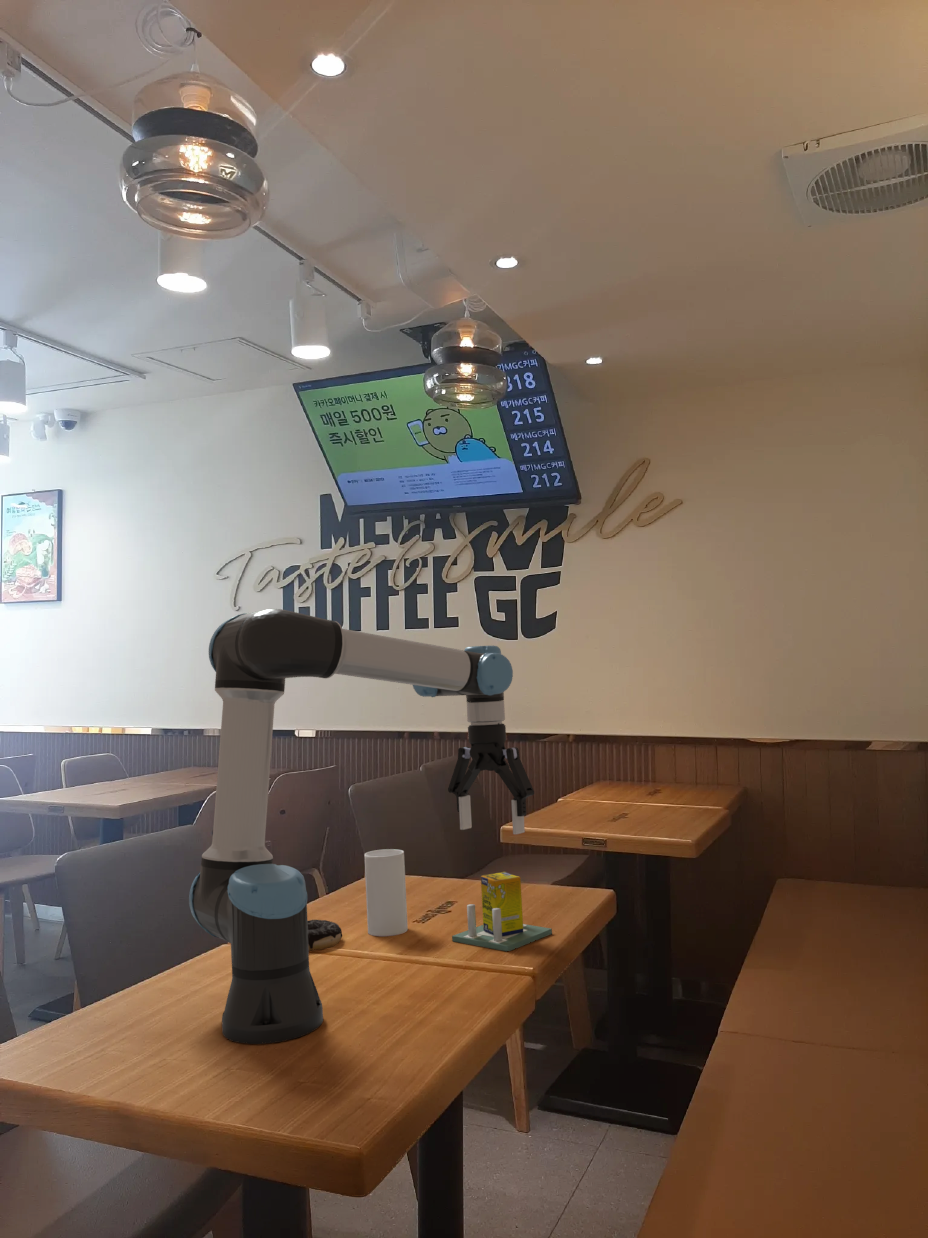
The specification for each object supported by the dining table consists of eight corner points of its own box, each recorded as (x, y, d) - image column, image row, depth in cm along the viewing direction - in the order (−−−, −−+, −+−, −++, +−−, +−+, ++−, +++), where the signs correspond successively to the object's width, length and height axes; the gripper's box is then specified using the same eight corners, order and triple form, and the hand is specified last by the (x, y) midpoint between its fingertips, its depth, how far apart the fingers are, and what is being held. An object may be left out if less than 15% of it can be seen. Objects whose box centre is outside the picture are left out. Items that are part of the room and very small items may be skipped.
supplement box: (482, 931, 190) (479, 875, 191) (508, 926, 193) (505, 871, 193) (497, 938, 185) (494, 880, 185) (524, 932, 187) (521, 876, 188)
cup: (410, 925, 202) (406, 848, 203) (404, 936, 194) (400, 856, 195) (372, 926, 203) (368, 849, 204) (364, 937, 195) (360, 857, 196)
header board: (508, 951, 179) (506, 913, 179) (452, 941, 188) (450, 905, 189) (552, 933, 190) (550, 898, 190) (497, 924, 199) (495, 890, 199)
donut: (275, 952, 188) (274, 931, 189) (304, 935, 200) (303, 916, 200) (325, 954, 185) (324, 933, 185) (352, 937, 196) (351, 917, 196)
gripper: (548, 721, 186) (554, 832, 184) (452, 722, 202) (457, 824, 201) (524, 724, 180) (530, 838, 179) (428, 724, 197) (432, 829, 195)
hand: (491, 831), depth 190 cm, fingers open, 13 cm apart
